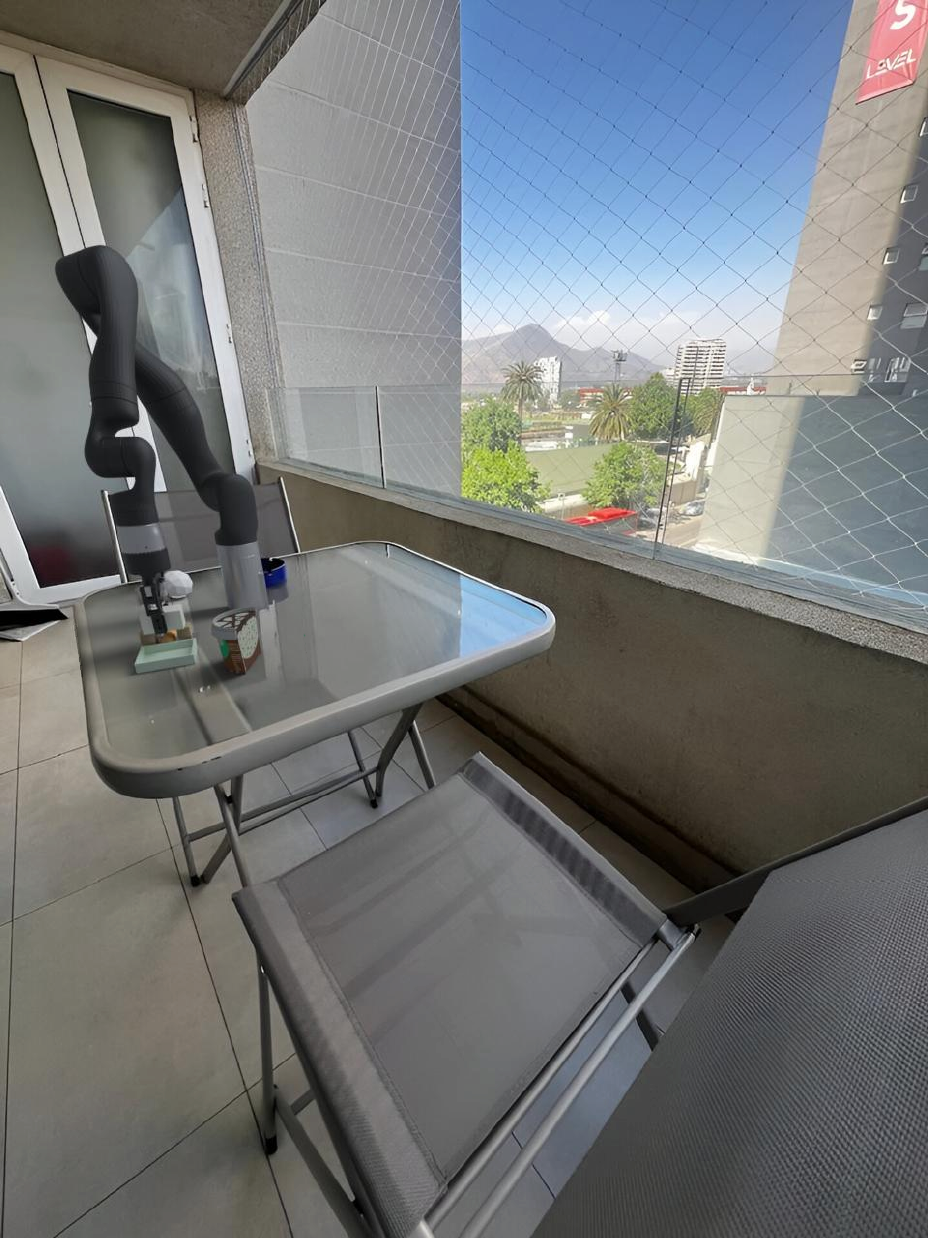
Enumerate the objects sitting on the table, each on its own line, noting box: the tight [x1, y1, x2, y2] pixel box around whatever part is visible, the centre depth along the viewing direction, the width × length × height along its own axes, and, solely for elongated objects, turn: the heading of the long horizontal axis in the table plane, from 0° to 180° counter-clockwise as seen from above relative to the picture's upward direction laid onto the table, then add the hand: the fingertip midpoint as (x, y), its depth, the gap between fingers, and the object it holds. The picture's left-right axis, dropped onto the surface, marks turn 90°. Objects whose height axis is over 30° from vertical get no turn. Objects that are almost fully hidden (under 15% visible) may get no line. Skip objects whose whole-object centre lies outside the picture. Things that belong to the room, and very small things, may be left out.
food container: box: [210, 607, 263, 675], centre depth 91 cm, size 12×6×10 cm, turn 5°
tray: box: [134, 638, 199, 675], centre depth 95 cm, size 10×9×2 cm
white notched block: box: [138, 603, 186, 635], centre depth 99 cm, size 7×4×5 cm, turn 115°
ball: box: [164, 570, 194, 596], centre depth 132 cm, size 8×8×8 cm
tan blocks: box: [139, 621, 194, 647], centre depth 101 cm, size 9×3×4 cm, turn 115°
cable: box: [161, 630, 177, 644], centre depth 103 cm, size 2×9×2 cm, turn 25°
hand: (164, 626), depth 100 cm, fingers open, 7 cm apart
